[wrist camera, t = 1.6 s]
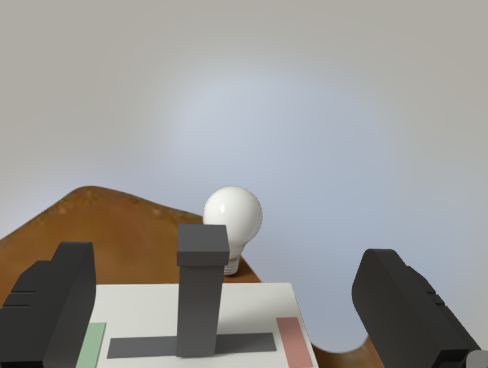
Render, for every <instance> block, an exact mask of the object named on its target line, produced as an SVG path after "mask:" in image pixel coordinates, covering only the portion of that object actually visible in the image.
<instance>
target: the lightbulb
mask: <svg viewBox="0 0 488 368" xmlns="http://www.w3.org/2000/svg"><path fill="white" fill-rule="evenodd" d="M203 223H204V224H213V225H226V229H227V235H228V242H229V249H230V255H229V263H228V266H225V268H224V275H231V274H234V273H235V272H237V270H238V264H239V257H240V254H241V252H242V251H243V249H244V246H245V245H246V244H247V243H248V242H249V241H250V240H251V239H252V238H253V237H255V235H256V234H257V233H258V231H259V229H260V226H261V224H262V209H261V206H260V203H259V201H258V200H257V198H256V197H255V196H254V195H253V194H252V193H251V192H249V191H248V190H246V189H244V188H241V187H237V186H229V187H224V188H221V189H219V190H217V191H216V192H214V193H213V194H212V195H211V196H210V197H209V199H208V200H207V202H206V204H205V206H204V210H203Z"/></svg>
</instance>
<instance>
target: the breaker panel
mask: <svg viewBox="0 0 488 368" xmlns="http://www.w3.org/2000/svg"><path fill="white" fill-rule="evenodd" d="M178 290H179V284H133V285H96V298H95V304H94V308H93V312H92V315H91V318H90V322H89V325H88V328H87V332H86V335H85V338H84V342H83V345H82V348H81V352H80V355H79V358H78V362H77V365H76V368H319V367H318V364H317V361H316V358H315V355H314V352H313V349H312V346H311V343H310V340H309V337H308V334H307V331H306V328H305V325H304V322H303V319H302V316H301V313H300V310H299V307H298V304H297V301H296V298H295V295H294V292H293V289H292V286H291V284H290V283H226V284H223V285H222V293H221V302H220V310H219V318H218V327H217V335H216V344H215V352H214V355H211V356H189V357H176V343H177V315H178Z"/></svg>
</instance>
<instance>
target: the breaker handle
mask: <svg viewBox="0 0 488 368" xmlns="http://www.w3.org/2000/svg"><path fill="white" fill-rule="evenodd" d="M229 255H230V249H229V242H228V235H227V229H226V225H213V224H178V244H177V266H179V290H178V315H177V343H176V357H189V356H211V355H214V352H215V344H216V335H217V327H218V318H219V310H220V302H221V293H222V285H223V276H224V268H225V266H228V263H229Z"/></svg>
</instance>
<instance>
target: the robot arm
mask: <svg viewBox="0 0 488 368" xmlns="http://www.w3.org/2000/svg"><path fill="white" fill-rule="evenodd" d="M95 298H96V274H95V263H94V251H93V245H92V243H91V242H61V243H60V244H59V246H58V248H57V250H56V252H55V254H54V256H53V258H52V260H51V261H37V262H35V263H34V264H33V265H32V266H30V267H29V268H28V269H27V270H26V271H24V272H23V273H22V274H21V275H20V277H19V278H18V280H17V282H16V284H15V285H14V287H13V289H12V290H11V294H9V296H8V297H7V299H6V301H5V302H4V304H3V308H2V309H0V368H76V365H77V362H78V358H79V355H80V352H81V348H82V345H83V342H84V338H85V335H86V332H87V328H88V325H89V322H90V318H91V315H92V312H93V308H94V304H95ZM352 300H353V304H354V307H355V309H356V311H357V312H358V315H359V317H360V319H361V321H362V323H363V325H364V327H365V329H366V331H367V333H368V335H369V337H370V339H371V341H372V343H373V344H374V346H375V348H376V350H377V352H378V354H379V356H380V358H381V360H382V362H383V364H384V366H385V368H488V351H484V350H481V348H480V347H479V346H478V345H477V343H476V342H475V341H474V339H473V338H472V337H471V336H470V334H469V333H468V332H467V331H466V329H465V328H464V327H463V326H462V324H461V323H460V322H459V321H458V319H457V318H456V317H455V316H454V314H453V313H452V312H451V310H450V309H449V308H448V307H447V306H445V303H444V301H443V300H442V299H441V298H440V296H439V295H436V291H435V290H434V289H433V288H432V286H431V285H430V284H429V283H428V281H427V280H426V279H425V278H424V277H423V276H422V275H420V274H419V273H418V272H416V271H415V270H414V269H412V268H411V267H410V266H406V265H405V263H404V262H403V261H402V259H401V258H400V257H399V255H398V254H397V253H396V252H395V251H394V250H392V249H367V250H366V251H365V252H364V254H363V257H362V260H361V263H360V266H359V269H358V271H357V274H356V277H355V280H354V283H353V286H352Z"/></svg>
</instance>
